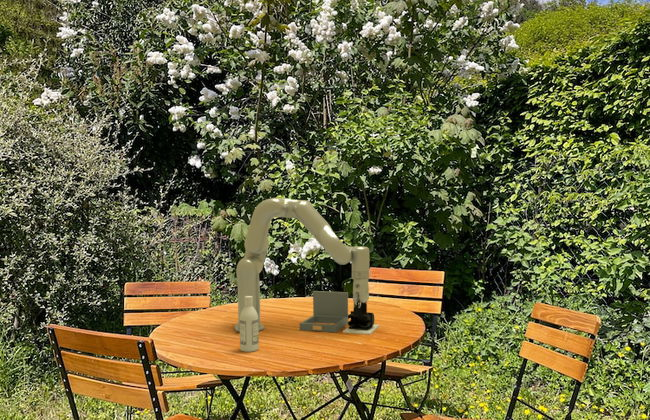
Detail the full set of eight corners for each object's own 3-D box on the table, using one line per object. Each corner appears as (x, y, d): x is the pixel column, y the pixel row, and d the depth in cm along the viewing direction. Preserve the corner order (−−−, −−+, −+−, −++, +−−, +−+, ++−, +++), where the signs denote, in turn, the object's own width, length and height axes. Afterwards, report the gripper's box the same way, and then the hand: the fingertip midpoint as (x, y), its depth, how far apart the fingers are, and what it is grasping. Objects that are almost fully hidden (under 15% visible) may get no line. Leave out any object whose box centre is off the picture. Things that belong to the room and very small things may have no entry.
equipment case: (335, 332, 228) (335, 299, 228) (299, 330, 234) (298, 298, 233) (348, 323, 247) (347, 292, 246) (314, 321, 252) (313, 291, 252)
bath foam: (258, 346, 208) (258, 294, 207) (258, 351, 201) (257, 297, 201) (240, 347, 207) (239, 295, 207) (239, 352, 200) (238, 298, 200)
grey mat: (370, 334, 225) (370, 333, 225) (342, 332, 229) (342, 331, 229) (379, 326, 240) (379, 324, 240) (353, 324, 244) (353, 323, 244)
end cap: (374, 327, 235) (374, 311, 235) (368, 330, 229) (368, 314, 229) (353, 325, 240) (353, 309, 240) (347, 328, 233) (346, 312, 233)
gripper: (363, 278, 225) (363, 319, 225) (373, 273, 241) (373, 311, 241) (346, 277, 227) (346, 318, 227) (357, 272, 243) (357, 310, 244)
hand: (360, 314), depth 234 cm, fingers open, 9 cm apart
